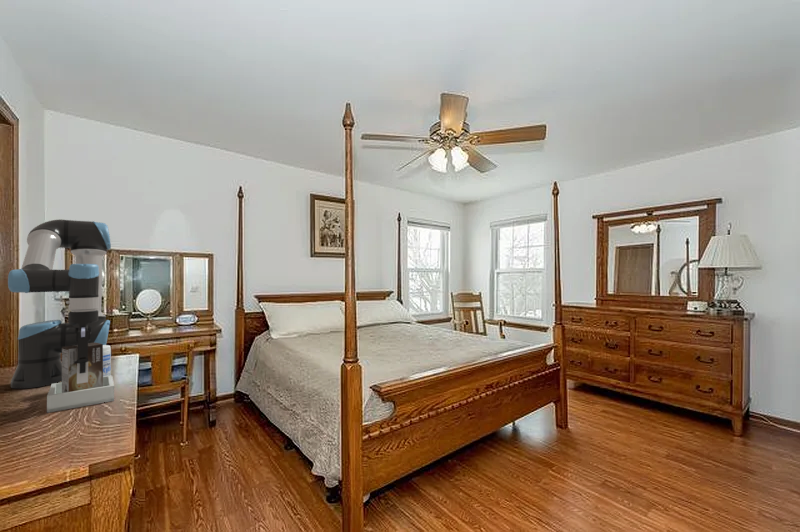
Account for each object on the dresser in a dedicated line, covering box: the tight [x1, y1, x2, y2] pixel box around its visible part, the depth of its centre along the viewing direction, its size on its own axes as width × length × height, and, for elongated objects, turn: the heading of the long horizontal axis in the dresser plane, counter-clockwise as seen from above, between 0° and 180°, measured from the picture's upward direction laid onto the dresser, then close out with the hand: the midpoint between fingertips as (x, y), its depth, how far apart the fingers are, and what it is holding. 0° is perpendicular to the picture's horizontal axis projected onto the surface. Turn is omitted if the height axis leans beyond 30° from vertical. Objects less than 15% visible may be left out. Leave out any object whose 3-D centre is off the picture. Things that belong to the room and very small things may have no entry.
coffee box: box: [61, 342, 103, 393], centre depth 120 cm, size 9×6×16 cm
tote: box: [46, 374, 115, 414], centre depth 121 cm, size 16×16×5 cm
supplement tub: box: [103, 344, 112, 376], centre depth 134 cm, size 10×10×15 cm
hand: (82, 379), depth 120 cm, fingers closed on coffee box, 7 cm apart
